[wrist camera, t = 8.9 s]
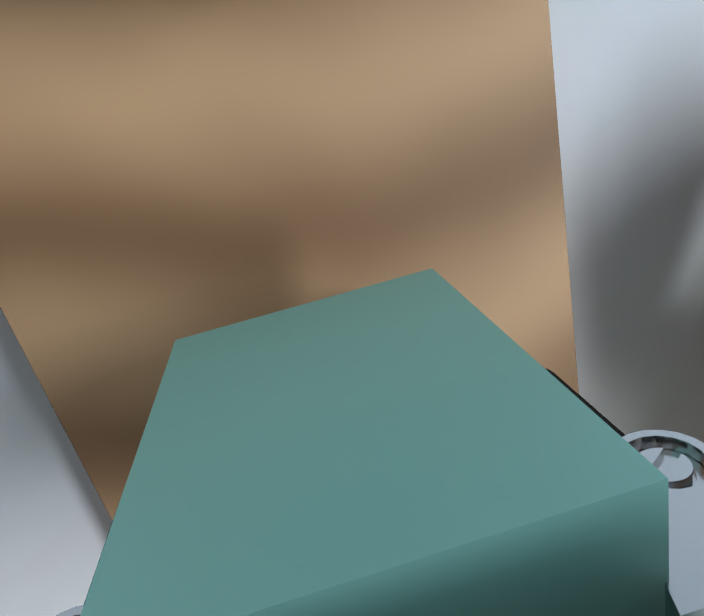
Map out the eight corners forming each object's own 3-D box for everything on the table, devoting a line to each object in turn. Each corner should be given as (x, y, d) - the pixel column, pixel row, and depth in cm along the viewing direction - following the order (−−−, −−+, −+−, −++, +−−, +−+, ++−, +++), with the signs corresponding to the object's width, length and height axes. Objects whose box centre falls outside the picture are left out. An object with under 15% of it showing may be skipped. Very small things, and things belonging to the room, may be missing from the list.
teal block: (175, 339, 10) (59, 674, 4) (432, 268, 11) (667, 478, 5) (254, 540, 12) (254, 968, 6) (469, 473, 13) (670, 812, 7)
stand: (-290, -329, 9) (-885, -803, 4) (479, -465, 10) (677, -976, 5) (165, 578, 18) (131, 757, 13) (565, 455, 18) (674, 576, 14)
